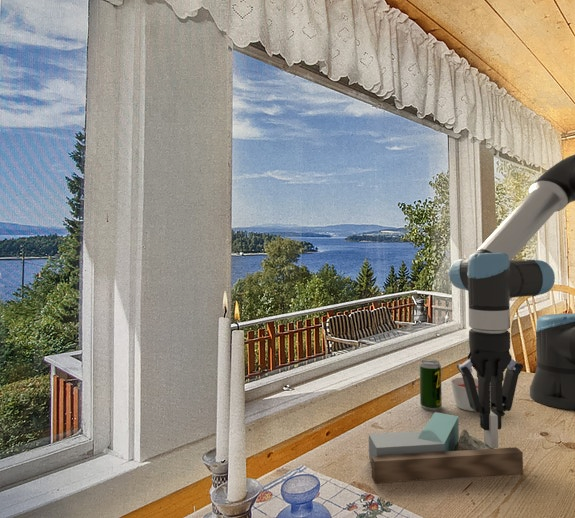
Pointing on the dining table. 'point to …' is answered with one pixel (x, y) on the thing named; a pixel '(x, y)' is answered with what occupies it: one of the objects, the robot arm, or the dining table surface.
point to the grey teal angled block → (418, 438)
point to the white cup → (461, 393)
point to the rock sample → (470, 442)
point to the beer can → (430, 384)
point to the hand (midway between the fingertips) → (491, 444)
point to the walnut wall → (447, 464)
